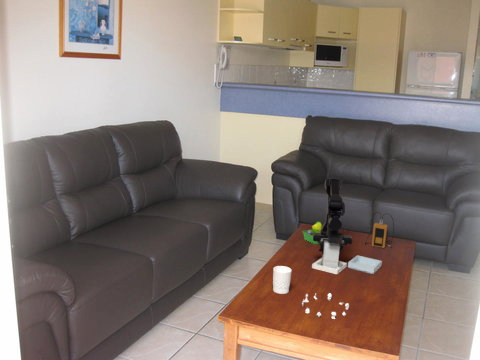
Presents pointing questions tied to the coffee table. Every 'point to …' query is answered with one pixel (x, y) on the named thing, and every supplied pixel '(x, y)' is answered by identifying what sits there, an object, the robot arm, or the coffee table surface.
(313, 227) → the fruit basket
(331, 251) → the supplement box
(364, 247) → the coffee table surface
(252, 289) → the coffee table surface
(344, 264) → the frame
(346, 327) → the coffee table surface
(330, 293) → the game piece set
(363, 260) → the tray
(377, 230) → the multimeter
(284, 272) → the white cup
